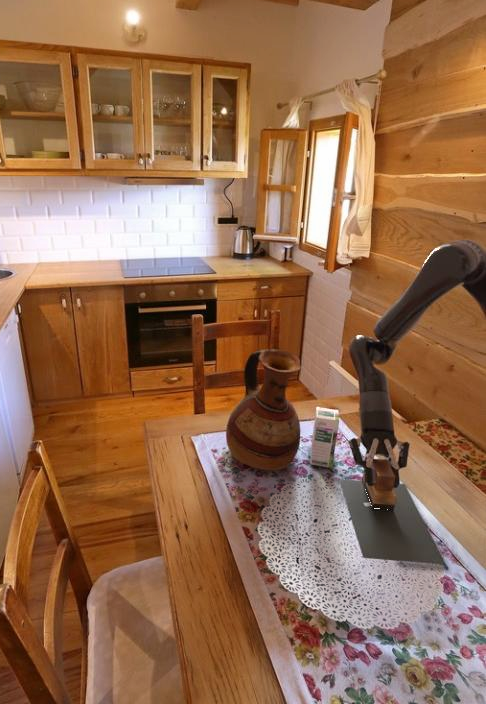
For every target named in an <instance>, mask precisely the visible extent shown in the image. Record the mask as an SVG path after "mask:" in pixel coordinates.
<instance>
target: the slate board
mask: <svg viewBox="0 0 486 704" xmlns="http://www.w3.org/2000/svg"><path fill="white" fill-rule="evenodd" d="M338 480H339V484H340V487H341V492H342V493H343V497H344V500H345V504H346V507H347V510H348V513H349V516H350V520H351V523H352V526H353V530H354V532H355V536H356V539H357V542H358V546H359V548H360V552H361V555H362V558H364V559H374V560H385V561H387V560H388V561H398V562H399V561H400V562H409V563H422V564H435V565H446V561H445V560H444V557H443V556H442V554H441V552H440V550H439V548H438V546H437V544H436V542H435V541H434V538H433V536H432V535H431V533H430V531H429V528H428V527H427V525H426V523H425V521H424V519H423V517H422V515H421V513H420V511H419V509H418V507H417V506H416V504H415V501H414V500H413V497H412V495H411V494H410V492H409V490H408V488H407V486H406V484H405V483H400V484H399V485H398V487H397V488H393V489H394V491H395V493H396V495H397V499H396V503H395V507H394V510H383V509H372V506H371V504H370V501H369V498H368V496H367V493H366V490H365V488H364V485H363V483H362V480H354V479H353V480H352V479H342V478H341V479H338Z"/></svg>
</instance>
